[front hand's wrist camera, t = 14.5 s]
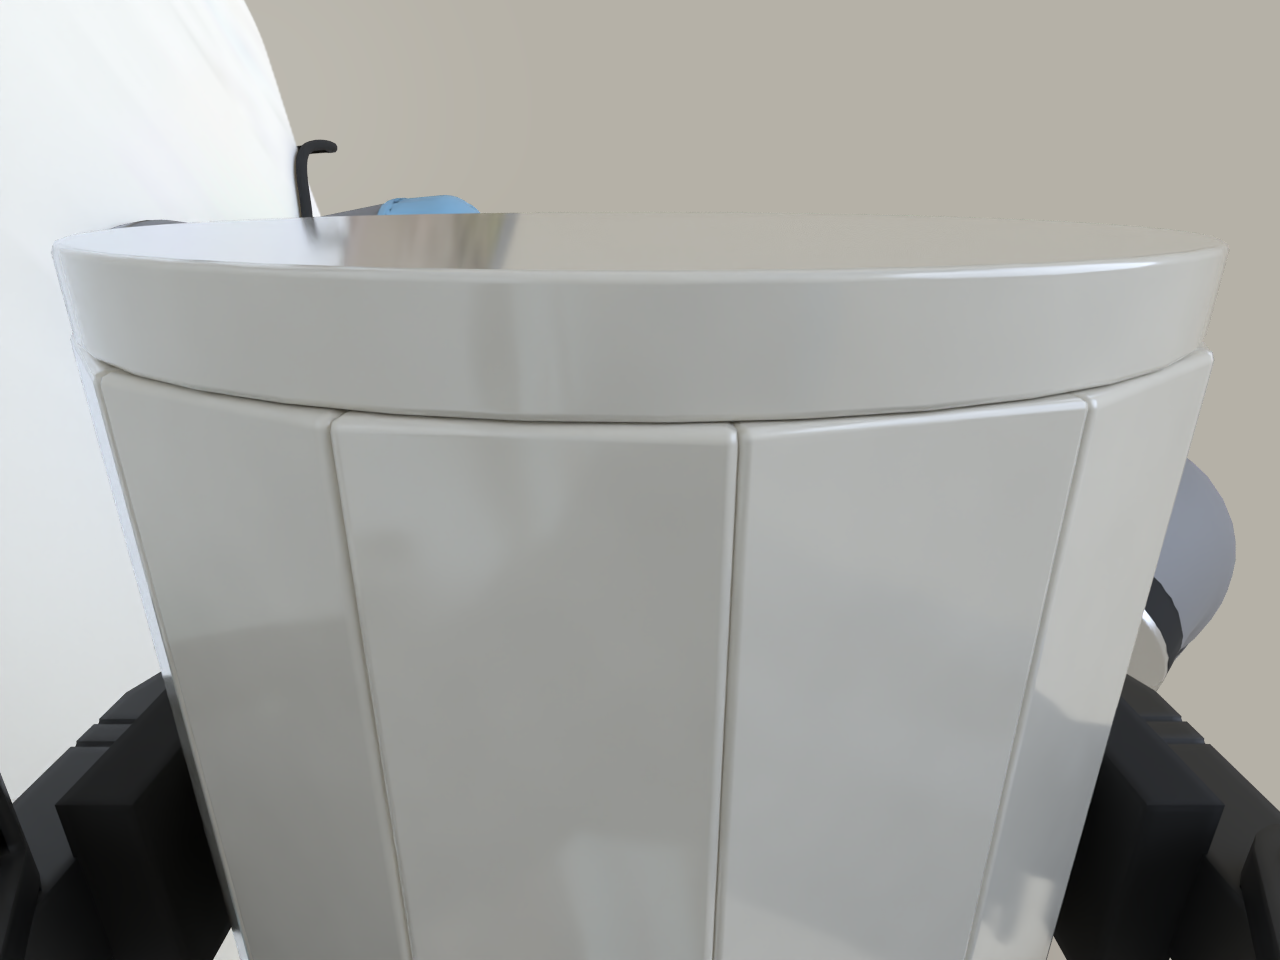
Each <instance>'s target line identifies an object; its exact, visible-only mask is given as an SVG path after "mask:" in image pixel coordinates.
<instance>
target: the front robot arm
mask: <svg viewBox="0 0 1280 960" xmlns="http://www.w3.org/2000/svg"><path fill="white" fill-rule="evenodd" d="M230 928H231V924H230V920H229V917H228V913H227V909H226V906H225V902H224V898H223V895H222V891H221V887H220V884H219V880H218V876H217V873H216V869H215V866H214V862H213V858H212V855H211V851H210V847H209V844H208V840H207V836H206V833H205V829H204V826H203V822H202V818H201V815H200V811H199V807H198V804H197V800H196V796H195V793H194V789H193V785H192V782H191V778H190V775H189V771H188V767H187V764H186V760H185V756H184V753H183V749H182V745H181V742H180V738H179V734H178V731H177V727H176V724H175V720H174V716H173V713H172V709H171V705H170V702H169V698H168V694H167V691H166V687H165V683H164V680H163V676H162V673H161V672H160V673H158V674H156V675H155V676H153V677H151V678H150V679H148V680H146V681H145V682H143V683H141V684H140V685H138V686H136V687H135V688H133V689H131V690H130V691H128V692H126V693H125V694H124V695H123V696H122V697H121V698H120V699H119V700H118V701H117V702H116V703H115V704H114V705H113V706H112V707H111V708H110V709H109V710H108V711H107V712H106V713H105V714H104V715H103V716H102V717H101V718H100V719H99V724H94V725H93V726H92V727H91V728H90V729H88V730H87V731H86V732H85V733H84V734H83V735H82V736H81V737H80V738H79V739H78V740H77V744H76V746H75V747H70V748H69V749H68V750H67V751H66V752H65V753H64V754H63V755H62V756H61V757H60V758H59V759H58V760H57V761H56V762H55V763H54V764H53V765H52V766H51V767H50V768H48V769H47V770H46V771H45V772H44V773H43V774H42V775H41V776H40V777H39V778H38V779H37V780H36V781H35V782H34V783H33V784H32V785H31V786H30V787H29V788H28V789H27V790H26V791H25V792H24V793H23V794H22V795H21V796H20V797H19V798H18V799H17V800H16V801H15V802H14V803H13V804H12V802H11V799H10V797H9V794H8V792H7V789H6V786H5V784H4V781H3V779H2V776H1V774H0V960H213V959H214V957H215V955H216V953H217V952H218V950H219V948H220V946H221V944H222V943H223V941H224V939H225V937H226V935H227V934H228V932H229V930H230ZM1053 936H1054V937H1055V939H1056V941H1057V943H1058V945H1059V946H1060V948H1061V950H1062V952H1063V954H1064V955H1065V957H1066V959H1067V960H1169V958H1171V959H1172V960H1280V811H1278V810H1277V809H1276V808H1275V807H1274V806H1273V805H1272V804H1271V803H1270V802H1269V801H1268V800H1267V799H1266V798H1265V797H1264V796H1263V795H1262V794H1261V793H1260V792H1259V791H1258V790H1257V789H1256V788H1255V787H1254V786H1253V785H1252V784H1251V783H1250V782H1249V781H1248V780H1246V779H1245V778H1244V777H1243V776H1242V775H1241V774H1240V773H1239V772H1238V771H1237V770H1236V769H1235V768H1234V767H1233V766H1232V765H1231V764H1230V763H1229V762H1228V761H1227V760H1226V759H1225V758H1224V757H1223V756H1222V755H1221V754H1220V753H1219V752H1218V751H1217V750H1216V749H1215V748H1213V747H1212V746H1211V745H1210V744H1205V743H1204V738H1203V737H1202V736H1201V735H1200V734H1199V733H1198V732H1197V731H1196V730H1195V729H1194V728H1193V727H1192V726H1191V725H1190V724H1189V723H1188V722H1182V719H1181V716H1180V715H1179V714H1178V713H1177V712H1176V711H1175V710H1174V709H1173V708H1172V707H1171V706H1170V705H1169V704H1168V703H1167V702H1166V701H1165V700H1164V699H1163V698H1162V697H1161V696H1160V695H1159V694H1158V693H1157V692H1156V691H1155V690H1153V689H1152V688H1150V687H1148V686H1147V685H1145V684H1143V683H1142V682H1140V681H1138V680H1137V679H1135V678H1133V677H1132V676H1130V675H1128V674H1126V677H1125V681H1124V685H1123V688H1122V692H1121V695H1120V699H1119V702H1118V706H1117V710H1116V713H1115V717H1114V720H1113V724H1112V727H1111V731H1110V735H1109V738H1108V742H1107V745H1106V749H1105V752H1104V756H1103V760H1102V763H1101V767H1100V770H1099V774H1098V777H1097V781H1096V785H1095V788H1094V792H1093V795H1092V799H1091V803H1090V806H1089V810H1088V813H1087V817H1086V820H1085V824H1084V828H1083V831H1082V835H1081V838H1080V842H1079V845H1078V849H1077V853H1076V856H1075V860H1074V863H1073V867H1072V870H1071V874H1070V878H1069V881H1068V885H1067V888H1066V892H1065V895H1064V899H1063V903H1062V906H1061V910H1060V913H1059V917H1058V920H1057V924H1056V928H1055V931H1054V935H1053Z"/></svg>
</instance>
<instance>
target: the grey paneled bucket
mask: <svg viewBox="0 0 1280 960" xmlns="http://www.w3.org/2000/svg"><path fill="white" fill-rule="evenodd" d="M1228 253H1229V247H1228V244H1227V243H1225V242H1224V241H1222V240H1221V239H1218V238H1216V237H1213V236H1208V235H1204V234H1199V233H1193V232H1186V231H1178V230H1171V229H1161V228H1150V227H1139V226H1127V225H1113V224H1099V223H1082V222H1065V221H1045V220H1024V219H999V218H973V217H943V216H908V215H867V214H812V213H811V214H810V213H726V212H548V213H463V214H409V215H367V216H332V217H302V218H275V219H252V220H231V221H212V222H194V223H178V224H163V225H150V226H138V227H126V228H117V229H108V230H98V231H92V232H86V233H79V234H74V235H70V236H67V237H64V238H60V239H58V240H56V241H54V244H53V246H52V251H51V254H52V258H53V261H54V265H55V269H56V272H57V276H58V280H59V283H60V287H61V291H62V294H63V298H64V302H65V305H66V309H67V313H68V316H69V320H70V324H71V327H72V331H73V332H72V333H71V337H70V341H71V345H72V348H73V352H74V356H75V359H76V363H77V367H78V370H79V374H80V378H81V381H82V385H83V388H84V392H85V396H86V399H87V403H88V407H89V410H90V414H91V418H92V421H93V425H94V429H95V432H96V436H97V439H98V443H99V447H100V450H101V454H102V458H103V461H104V465H105V469H106V472H107V476H108V480H109V483H110V487H111V490H112V494H113V498H114V501H115V505H116V509H117V512H118V516H119V520H120V523H121V527H122V531H123V534H124V538H125V541H126V545H127V549H128V552H129V556H130V560H131V563H132V567H133V571H134V574H135V578H136V581H137V585H138V589H139V592H140V596H141V600H142V603H143V607H144V611H145V614H146V618H147V622H148V625H149V629H150V632H151V636H152V640H153V643H154V647H155V651H156V654H157V658H158V662H159V665H160V669H161V673H162V676H163V680H164V683H165V687H166V691H167V694H168V698H169V702H170V705H171V709H172V713H173V716H174V720H175V724H176V727H177V731H178V734H179V738H180V742H181V745H182V749H183V753H184V756H185V760H186V764H187V767H188V771H189V775H190V778H191V782H192V785H193V789H194V793H195V796H196V800H197V804H198V807H199V811H200V815H201V818H202V822H203V826H204V829H205V833H206V836H207V840H208V844H209V847H210V851H211V855H212V858H213V862H214V866H215V869H216V873H217V876H218V880H219V884H220V887H221V891H222V895H223V898H224V902H225V906H226V909H227V913H228V917H229V920H230V924H231V927H232V931H233V935H234V938H235V942H236V946H237V949H238V953H239V957H240V960H1047V956H1048V952H1049V949H1050V945H1051V942H1052V938H1053V935H1054V931H1055V928H1056V924H1057V920H1058V917H1059V913H1060V910H1061V906H1062V903H1063V899H1064V895H1065V892H1066V888H1067V885H1068V881H1069V878H1070V874H1071V870H1072V867H1073V863H1074V860H1075V856H1076V853H1077V849H1078V845H1079V842H1080V838H1081V835H1082V831H1083V828H1084V824H1085V820H1086V817H1087V813H1088V810H1089V806H1090V803H1091V799H1092V795H1093V792H1094V788H1095V785H1096V781H1097V777H1098V774H1099V770H1100V767H1101V763H1102V760H1103V756H1104V752H1105V749H1106V745H1107V742H1108V738H1109V735H1110V731H1111V727H1112V724H1113V720H1114V717H1115V713H1116V710H1117V706H1118V702H1119V699H1120V695H1121V692H1122V688H1123V685H1124V681H1125V677H1126V674H1127V670H1128V667H1129V663H1130V660H1131V656H1132V652H1133V649H1134V645H1135V642H1136V638H1137V635H1138V631H1139V627H1140V624H1141V620H1142V617H1143V613H1144V610H1145V606H1146V602H1147V599H1148V595H1149V592H1150V588H1151V585H1152V581H1153V577H1154V574H1155V570H1156V567H1157V563H1158V560H1159V556H1160V552H1161V549H1162V545H1163V542H1164V538H1165V535H1166V531H1167V527H1168V524H1169V520H1170V517H1171V513H1172V510H1173V506H1174V502H1175V499H1176V495H1177V492H1178V488H1179V485H1180V481H1181V477H1182V474H1183V470H1184V467H1185V463H1186V460H1187V456H1188V452H1189V449H1190V445H1191V442H1192V438H1193V435H1194V431H1195V427H1196V424H1197V420H1198V417H1199V413H1200V409H1201V406H1202V402H1203V399H1204V395H1205V392H1206V388H1207V385H1208V381H1209V377H1210V374H1211V370H1212V366H1213V363H1214V357H1213V352H1212V351H1211V350H1210V349H1209V348H1208V346H1207V345H1206V344H1205V343H1204V342H1203V341H1202V340H1203V339H1204V337H1205V336H1206V334H1207V330H1208V327H1209V323H1210V319H1211V316H1212V312H1213V308H1214V305H1215V301H1216V297H1217V294H1218V290H1219V286H1220V283H1221V279H1222V275H1223V272H1224V268H1225V264H1226V261H1227V257H1228Z"/></svg>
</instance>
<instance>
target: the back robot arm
mask: <svg viewBox="0 0 1280 960" xmlns="http://www.w3.org/2000/svg"><path fill="white" fill-rule="evenodd" d="M296 147H297V149H298V154H297V160H296V174H297V183H298V191H299V198H300V205H301V214H302V217H313V216H312V207H311V200H310V193H309V186H308V177H307V159H308V156H309V154H316V153H333V152H336V151H337V145H336V144H335V143H333V142H331V141H327V140H313V141H309V142H306V143H305V144H303V145H301V146H296ZM463 213H480V212H479V211H478V210H477V209H476V208H475V207H473V206H472V205H470V204H468V203H467V202H465V201H464V200H462V199H460V198H458V197H455V196H449V195H440V196H429V197H419V198H409V199H407V198H396V199H392V200H389V201H387V202H386V203H385V204H380V205H375V206H370V207H366V208H360V209H356V210H351V211H346V212H341V213H336V214H331V215H326V216H321V217H332V216H367V215H409V214H463ZM178 223H186V222H178V221H171V220H145V221H139V222H134V223H129V224H124V225H120V226H117V227H114V228H112V229H117V228H126V227H138V226H150V225H163V224H178ZM1234 564H1235V535H1234V530H1233V524H1232V521H1231V518H1230V516H1229V513H1228V511H1227V508H1226V506H1225V503H1224V501H1223V499H1222V497H1221V496H1220V494H1219V493H1218V491H1217V490H1216V488H1215V487H1214V485H1213V484H1212V482H1211V481H1210V479H1209V478H1208V477H1207V476H1206V475H1205V474H1204V473H1203V472H1202V471H1201V470H1200V469H1199V468H1198V467H1197V466H1196V465H1195V464H1194V463H1193V462H1191V461H1190V460H1189V459H1188V458H1187V460H1186V463H1185V467H1184V470H1183V474H1182V477H1181V481H1180V485H1179V488H1178V492H1177V495H1176V499H1175V502H1174V506H1173V510H1172V513H1171V517H1170V520H1169V524H1168V527H1167V531H1166V535H1165V538H1164V542H1163V545H1162V549H1161V552H1160V556H1159V560H1158V563H1157V567H1156V570H1155V574H1154V577H1153V581H1152V585H1151V588H1150V592H1149V595H1148V599H1147V602H1146V606H1145V610H1144V613H1143V617H1142V620H1141V624H1140V627H1139V631H1138V635H1137V638H1136V642H1135V645H1134V649H1133V652H1132V656H1131V660H1130V663H1129V667H1128V670H1127V674H1128V675H1130V676H1132V677H1133V678H1135V679H1137V680H1138V681H1140V682H1142V683H1143V684H1145V685H1147V686H1148V687H1150V688H1152V689H1153V690H1155V691H1157V690H1158V688H1159V687H1160V685H1161V684H1162V682H1163V681H1164V679H1165V677H1166V675H1167V673H1168V671H1169V669H1170V667H1171V666H1172V664H1173V662H1174V660H1175V659H1176V658H1177V657H1178V656H1179V655H1180V653H1181V652H1182V651H1183V650H1184V649H1185V648H1186V646H1187V645H1188V644H1189V643H1190V642H1191V641H1192V640H1193V639H1195V637H1196V636H1197V635H1198V634H1199V633H1200V632H1201V630H1202V629H1203V628H1204V627H1205V626H1206V625H1207V624H1208V622H1209V621H1210V620H1211V619H1212V617H1213V616H1214V614H1215V612H1216V611H1217V609H1218V608H1219V606H1220V605H1221V603H1222V601H1223V599H1224V597H1225V595H1226V592H1227V590H1228V587H1229V584H1230V581H1231V577H1232V574H1233V569H1234Z"/></svg>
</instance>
